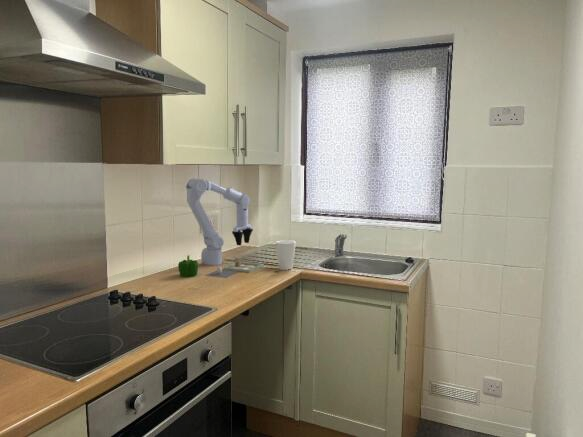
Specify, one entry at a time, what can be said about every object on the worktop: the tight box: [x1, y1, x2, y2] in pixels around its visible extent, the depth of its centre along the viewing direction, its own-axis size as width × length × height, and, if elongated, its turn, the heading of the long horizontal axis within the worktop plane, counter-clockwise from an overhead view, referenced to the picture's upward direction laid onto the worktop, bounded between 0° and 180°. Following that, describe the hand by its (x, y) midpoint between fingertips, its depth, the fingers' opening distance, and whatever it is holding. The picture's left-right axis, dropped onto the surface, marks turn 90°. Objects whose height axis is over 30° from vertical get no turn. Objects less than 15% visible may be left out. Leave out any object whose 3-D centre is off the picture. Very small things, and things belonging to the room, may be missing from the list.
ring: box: [231, 257, 256, 270], centre depth 210 cm, size 8×8×5 cm
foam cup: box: [275, 239, 297, 271], centre depth 213 cm, size 10×9×13 cm
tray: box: [223, 261, 265, 273], centre depth 210 cm, size 14×14×2 cm
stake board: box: [204, 266, 240, 279], centre depth 198 cm, size 11×11×4 cm
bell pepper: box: [178, 255, 199, 278], centre depth 195 cm, size 8×8×10 cm
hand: (242, 244), depth 227 cm, fingers open, 7 cm apart
